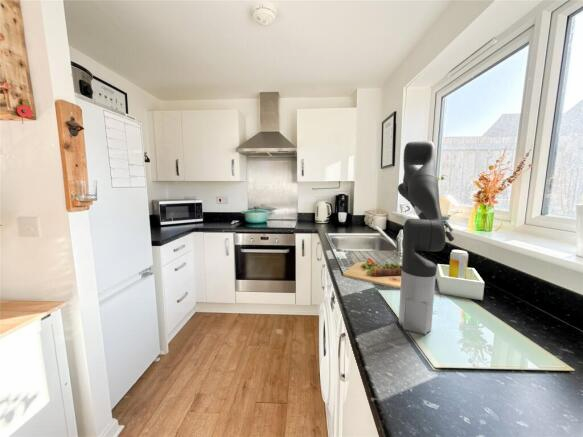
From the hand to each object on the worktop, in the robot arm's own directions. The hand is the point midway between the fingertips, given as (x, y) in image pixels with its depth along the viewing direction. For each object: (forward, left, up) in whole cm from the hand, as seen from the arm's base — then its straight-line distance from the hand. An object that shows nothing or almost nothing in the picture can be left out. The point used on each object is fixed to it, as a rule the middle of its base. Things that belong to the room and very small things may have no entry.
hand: (444, 241), depth 108 cm
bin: (-5, -5, -19) cm, 20 cm away
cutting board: (-4, +23, -20) cm, 31 cm away
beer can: (-5, -5, -18) cm, 19 cm away
